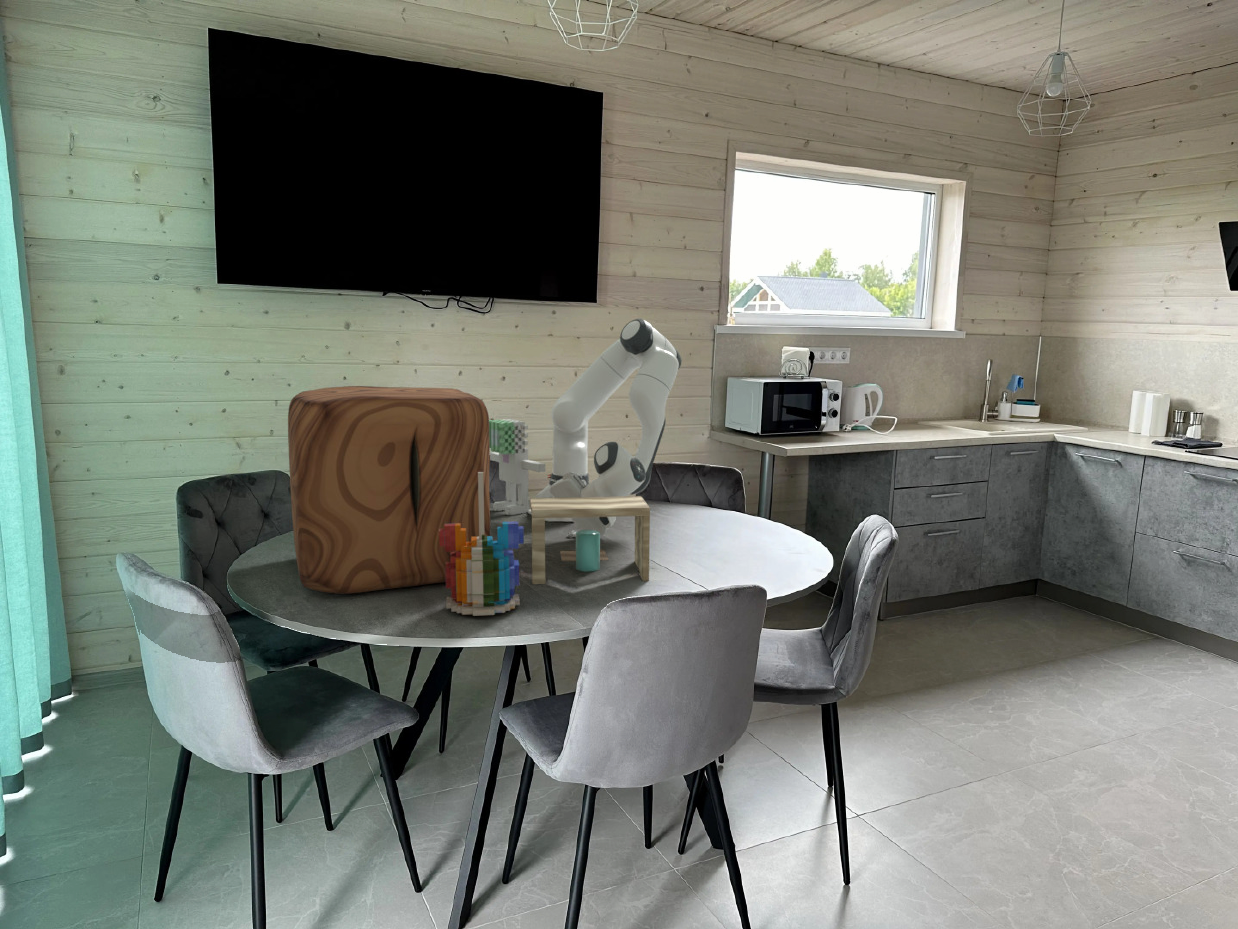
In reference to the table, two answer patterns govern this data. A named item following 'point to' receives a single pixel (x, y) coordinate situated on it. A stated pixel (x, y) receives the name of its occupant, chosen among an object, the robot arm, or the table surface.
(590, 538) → the mint green cylinder
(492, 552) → the toy
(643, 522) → the wooden step stool
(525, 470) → the toy
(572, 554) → the tray
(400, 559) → the brown wooden cube stool
